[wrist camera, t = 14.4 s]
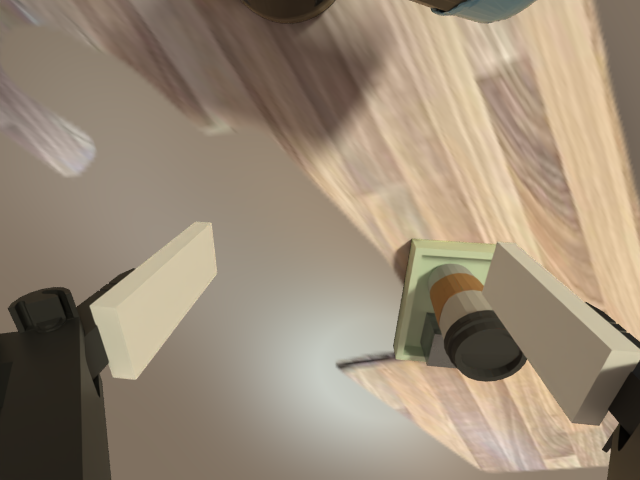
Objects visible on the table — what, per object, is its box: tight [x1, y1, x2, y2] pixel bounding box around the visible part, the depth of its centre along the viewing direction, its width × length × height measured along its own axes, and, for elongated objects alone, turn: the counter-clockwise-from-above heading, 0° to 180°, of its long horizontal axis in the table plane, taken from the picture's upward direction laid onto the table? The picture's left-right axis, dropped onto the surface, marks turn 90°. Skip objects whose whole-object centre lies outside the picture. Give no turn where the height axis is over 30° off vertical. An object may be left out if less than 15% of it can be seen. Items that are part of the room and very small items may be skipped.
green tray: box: [393, 239, 496, 362], centre depth 47 cm, size 20×14×3 cm
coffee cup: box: [428, 263, 527, 382], centre depth 39 cm, size 8×8×15 cm
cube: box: [420, 312, 456, 368], centre depth 47 cm, size 6×6×5 cm
